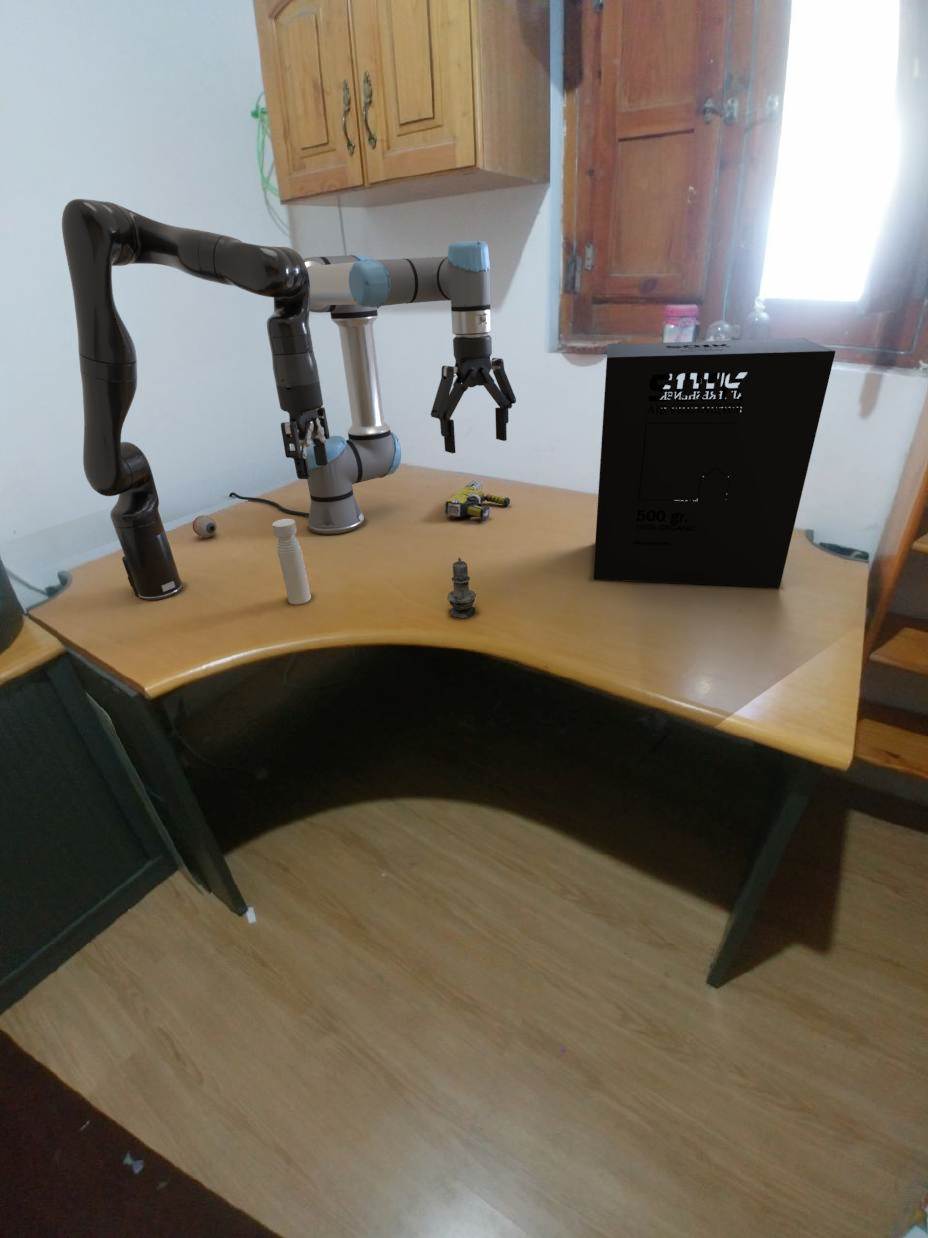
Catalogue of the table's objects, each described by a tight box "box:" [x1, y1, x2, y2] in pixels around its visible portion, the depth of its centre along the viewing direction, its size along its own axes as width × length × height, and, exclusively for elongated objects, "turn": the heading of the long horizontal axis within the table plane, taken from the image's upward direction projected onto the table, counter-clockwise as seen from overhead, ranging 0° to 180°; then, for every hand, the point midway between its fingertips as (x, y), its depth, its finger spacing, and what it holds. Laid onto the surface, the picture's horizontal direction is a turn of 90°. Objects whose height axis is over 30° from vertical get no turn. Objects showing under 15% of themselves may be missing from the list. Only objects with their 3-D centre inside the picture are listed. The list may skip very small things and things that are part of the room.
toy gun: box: [444, 480, 511, 521], centre depth 175 cm, size 5×24×15 cm
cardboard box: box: [592, 337, 836, 589], centre depth 125 cm, size 38×20×45 cm, turn 78°
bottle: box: [276, 534, 312, 605], centre depth 127 cm, size 5×5×17 cm
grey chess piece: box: [446, 556, 477, 619], centre depth 120 cm, size 6×6×12 cm
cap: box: [271, 518, 298, 538], centre depth 123 cm, size 4×4×2 cm
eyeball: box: [192, 514, 217, 538], centre depth 165 cm, size 6×6×6 cm
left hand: (313, 471), depth 114 cm, fingers open, 8 cm apart
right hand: (476, 445), depth 127 cm, fingers open, 13 cm apart
